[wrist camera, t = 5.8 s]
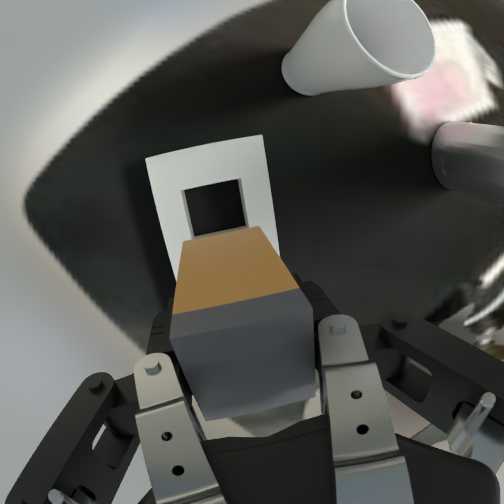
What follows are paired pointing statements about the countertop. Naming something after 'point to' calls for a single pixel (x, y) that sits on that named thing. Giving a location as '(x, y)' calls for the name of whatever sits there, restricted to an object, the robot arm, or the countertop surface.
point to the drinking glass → (360, 47)
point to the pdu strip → (208, 172)
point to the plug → (241, 326)
